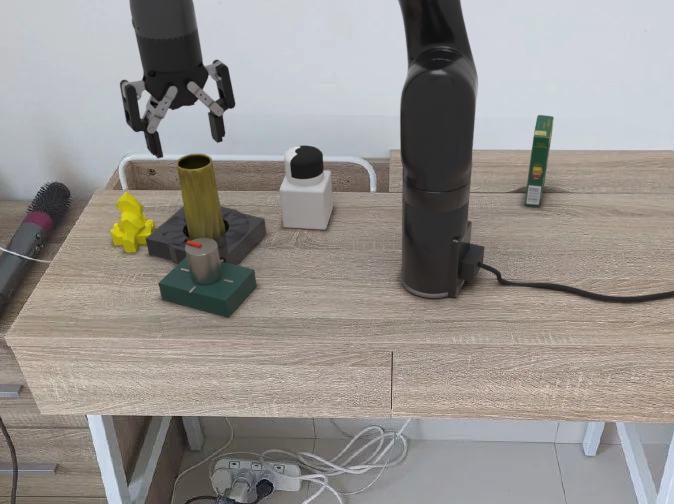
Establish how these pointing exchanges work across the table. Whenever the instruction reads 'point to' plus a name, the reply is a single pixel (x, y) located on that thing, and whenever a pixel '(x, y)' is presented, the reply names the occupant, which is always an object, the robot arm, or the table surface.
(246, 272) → the panel
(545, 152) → the coffee box
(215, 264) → the grey rotary knob
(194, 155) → the vase
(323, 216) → the medicine bottle
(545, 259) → the table surface
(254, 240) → the square flange with hole
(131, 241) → the yellow faceted cluster
